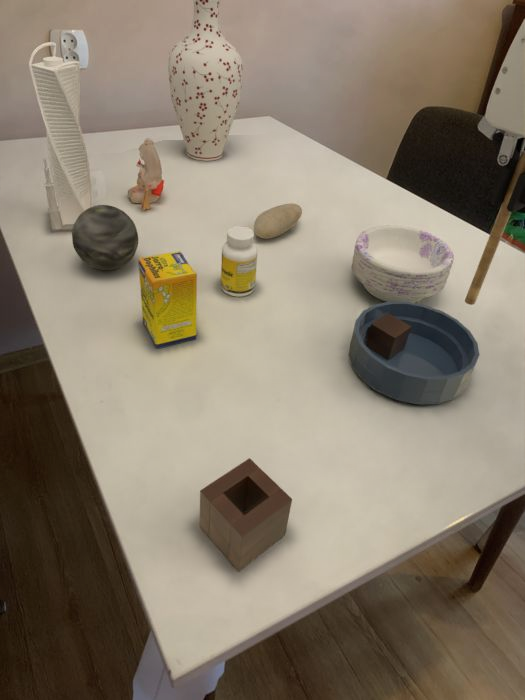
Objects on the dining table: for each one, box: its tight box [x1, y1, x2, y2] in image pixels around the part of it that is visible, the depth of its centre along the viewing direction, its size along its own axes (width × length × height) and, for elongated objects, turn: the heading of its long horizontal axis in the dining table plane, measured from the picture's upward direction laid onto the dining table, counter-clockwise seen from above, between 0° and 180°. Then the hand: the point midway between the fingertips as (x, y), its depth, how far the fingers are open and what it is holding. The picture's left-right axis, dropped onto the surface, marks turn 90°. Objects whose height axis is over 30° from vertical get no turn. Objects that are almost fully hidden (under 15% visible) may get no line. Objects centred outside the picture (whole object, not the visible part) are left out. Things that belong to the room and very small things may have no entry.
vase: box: [167, 0, 244, 162], centre depth 116 cm, size 16×16×35 cm
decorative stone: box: [71, 204, 139, 271], centre depth 84 cm, size 10×10×10 cm
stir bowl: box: [348, 301, 480, 405], centre depth 73 cm, size 16×16×5 cm
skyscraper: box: [28, 41, 93, 233], centre depth 89 cm, size 8×8×28 cm
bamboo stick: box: [464, 150, 525, 305], centre depth 59 cm, size 1×1×18 cm
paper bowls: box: [351, 225, 455, 303], centre depth 86 cm, size 15×15×8 cm
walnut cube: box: [366, 313, 411, 360], centre depth 75 cm, size 4×4×4 cm
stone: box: [253, 203, 303, 239], centre depth 99 cm, size 6×6×12 cm
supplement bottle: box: [220, 225, 258, 297], centre depth 82 cm, size 5×5×10 cm
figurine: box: [126, 138, 165, 211], centre depth 103 cm, size 9×7×12 cm
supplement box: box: [137, 250, 198, 350], centre depth 72 cm, size 6×6×11 cm
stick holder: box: [199, 458, 293, 572], centre depth 51 cm, size 6×6×6 cm
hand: (508, 204), depth 57 cm, fingers closed on bamboo stick, 1 cm apart
